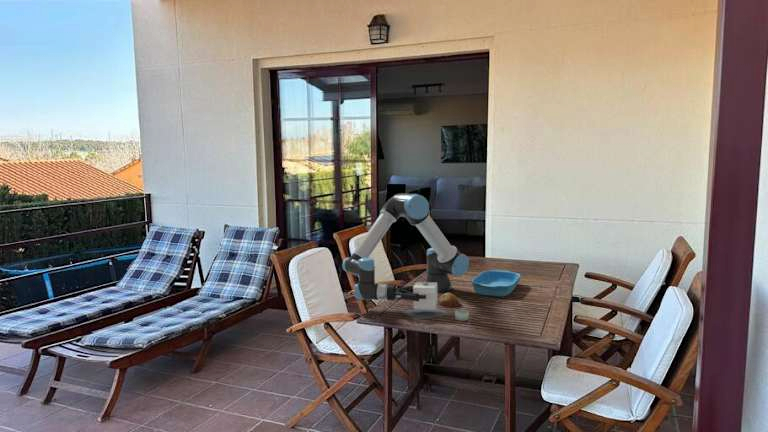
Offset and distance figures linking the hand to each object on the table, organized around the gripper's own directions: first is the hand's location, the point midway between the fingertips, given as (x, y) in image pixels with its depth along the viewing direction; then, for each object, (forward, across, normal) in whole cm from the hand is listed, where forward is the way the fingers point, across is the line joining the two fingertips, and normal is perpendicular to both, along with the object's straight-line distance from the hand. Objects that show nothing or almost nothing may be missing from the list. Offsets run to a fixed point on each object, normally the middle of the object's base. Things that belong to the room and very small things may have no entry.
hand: (434, 293), depth 234 cm
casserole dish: (+29, -50, -11) cm, 59 cm away
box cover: (-4, 0, -6) cm, 7 cm away
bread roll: (+6, -16, -10) cm, 20 cm away
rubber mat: (-4, 0, -10) cm, 11 cm away
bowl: (+13, +6, -10) cm, 17 cm away
